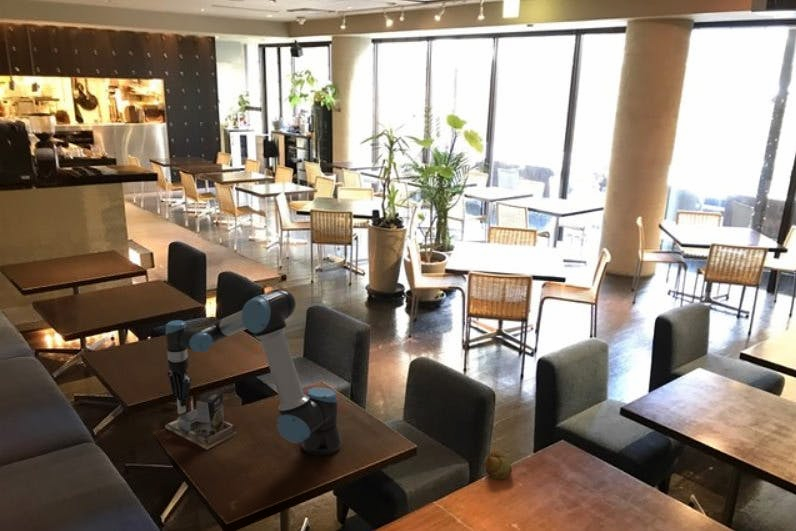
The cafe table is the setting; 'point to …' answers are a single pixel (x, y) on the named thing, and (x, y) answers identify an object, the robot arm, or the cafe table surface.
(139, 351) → the cafe table surface
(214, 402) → the coffee box
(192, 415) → the housing
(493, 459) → the olive snail shell
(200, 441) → the silver tray
